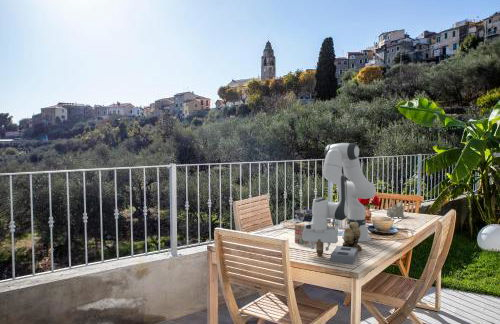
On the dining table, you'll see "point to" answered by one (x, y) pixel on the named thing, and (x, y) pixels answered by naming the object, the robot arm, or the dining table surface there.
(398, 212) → the ceramic cottage
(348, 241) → the beige rough lumpy piece
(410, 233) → the dining table surface
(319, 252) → the walnut peg
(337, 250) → the two-hole board
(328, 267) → the dining table surface
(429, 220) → the dining table surface
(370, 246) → the dining table surface
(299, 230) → the stack of blocks
